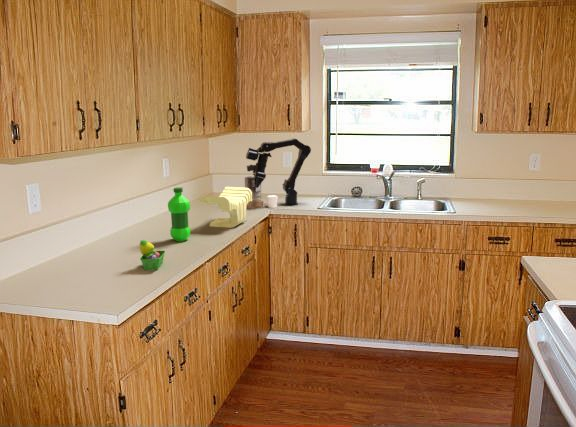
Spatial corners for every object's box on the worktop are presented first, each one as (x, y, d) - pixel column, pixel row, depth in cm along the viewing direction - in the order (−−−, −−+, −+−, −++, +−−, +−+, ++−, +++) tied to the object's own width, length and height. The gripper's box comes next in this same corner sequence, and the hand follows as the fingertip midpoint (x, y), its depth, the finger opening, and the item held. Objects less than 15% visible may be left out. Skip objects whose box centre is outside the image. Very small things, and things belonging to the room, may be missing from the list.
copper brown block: (257, 204, 337) (257, 198, 337) (263, 207, 328) (263, 201, 328) (242, 206, 333) (242, 200, 333) (248, 209, 324) (247, 202, 324)
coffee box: (261, 201, 350) (261, 176, 347) (256, 202, 345) (255, 178, 341) (250, 200, 355) (250, 176, 351) (244, 201, 349) (244, 177, 346)
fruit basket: (160, 271, 207) (158, 243, 205) (137, 271, 207) (135, 243, 205) (166, 262, 218) (164, 235, 216) (144, 262, 218) (142, 236, 216)
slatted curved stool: (230, 231, 269) (229, 197, 265) (202, 229, 273) (200, 195, 270) (252, 219, 296) (252, 187, 293) (226, 217, 301) (225, 186, 298)
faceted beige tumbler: (277, 205, 334) (277, 194, 333) (277, 207, 328) (277, 196, 326) (266, 205, 334) (266, 195, 333) (266, 208, 327) (266, 196, 326)
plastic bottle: (195, 238, 257) (193, 186, 252) (183, 243, 247) (181, 190, 242) (177, 236, 260) (175, 185, 255) (165, 241, 251) (162, 189, 246)
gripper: (248, 158, 336) (242, 181, 338) (250, 160, 318) (244, 185, 320) (265, 162, 338) (259, 185, 340) (268, 165, 320) (262, 190, 322)
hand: (255, 186), depth 331 cm, fingers open, 9 cm apart
